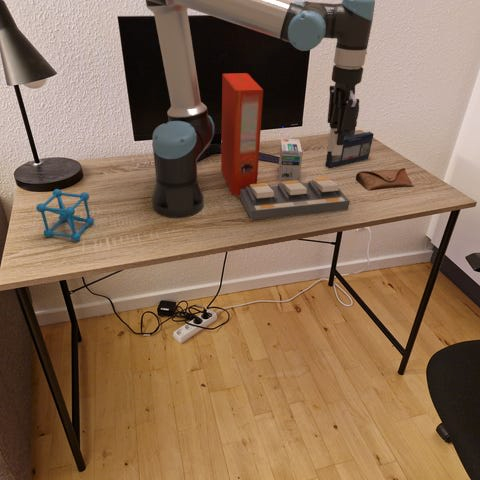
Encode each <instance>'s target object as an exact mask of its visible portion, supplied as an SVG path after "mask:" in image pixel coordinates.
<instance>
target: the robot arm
mask: <svg viewBox="0 0 480 480" xmlns="http://www.w3.org/2000/svg"><path fill="white" fill-rule="evenodd" d="M145 4H146V8H147V9H148V10H149V11H150V12H152V14H153V15H154V20H155V25H156V31H157V35H158V42H159V46H160V52H161V56H162V57H161V58H162V63H163V68H164V74H165V80H166V85H167V90H168V96H169V100H170V107H169V108H168V110H167V113H166V114H167V119H168V121H166V123H162V124H160V125H158V126H156V127H155V129H154V130H153V132H152V144H151V146H152V150H153V151H152V153H153V160H154V169H155V170H154V171H155V180H156V182H155V185H154V191H153V194H152V196H151V197H152V198H151V205H152V208H153V211H154V212H155V213H157V214H158V215H161V216H163V217H166V218H173V219H175V218H176V219H177V218H179V219H181V218H186V217H190V216H193V215H196V214H197V213H199V212H201V210H203V208H204V205H205V203H204V202H205V201H204V200H205V198H204V194H203V191H202V189H201V186H200V184H199V181H198V159H199V158H200V157H201V155H202V154H203V153H204V152H205V150H206V149H207V148H208V147H209V146H210V145H211V143H212V141H213V138H214V135H215V123H214V121H213V118H212V117H211V116H210V115H209V113H208V107H207V106H206V104H204V102H202V101H201V95H200V94H201V93H200V88H199V81H198V73H197V69H196V68H197V67H196V61H195V60H196V59H195V56H194V55H195V53H194V48H193V40H192V34H191V29H190V28H191V27H190V21H189V14H188V9H190V10H193V11H196V12H199V13H202V14H205V15H208V16H212V17H214V18H217V19H220V20H223V21H226V22H229V23H232V24H235V25H238V26H241V27H244V28H247V29H250V30H253V31H255V32H258V33H262V34H265V35H266V36H267V35H268V36H270V37H272V38H273V37H274V38H276V39H280V40H282V41H284V42H288V43H290V44H291V45H292V46H293V47H294V48H295V49H297V50H299V51H301V52H303V51H306V52H307V51H311V50H313V49H315V48H317V46H319V44H320V43H322V40H323V39H331V40H332V39H334V40H335V39H336V46H335V51H334V56H333V63H334V64H333V66H332V73H331V81H332V82H334V85H330V86H329V98H328V99H329V101H328V111H327V123H328V124H329V128H330V129H329V131H330V132H329V136H328V137H329V138H328V143H327V149H326V150H327V151H326V152H329V151H332V153H331V155H332V156H335V155H341V154H342V148H343V142H344V137H345V134H350V131H351V128H352V124H353V120H354V116H355V112H356V108H357V106H358V104H359V105H360V99H359V98H356V97H355V94H356V86H357V85H358V84H361V82H362V78H363V73H364V67H363V66H364V65H365V63H366V62H365V61H366V57H367V55H368V52H367V51H368V50H367V49H368V46H369V40H370V37H371V29H372V25H373V20H374V12H375V5H376V0H342V1H341V3H328V2H327V3H326V2H313V1H307V0H306V1H295V2H290V1H288V0H145Z"/></svg>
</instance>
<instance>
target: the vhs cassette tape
mask: <svg viewBox="0 0 480 480" xmlns="http://www.w3.org/2000/svg"><path fill="white" fill-rule="evenodd" d="M373 140H374V133H373V132H371V131H366V132H361V133H357V134H354V135H351V136H346V137H344V142H343V148H342V154H341V155H335V156H332V155H331V153H332V151H329V152H328V151H326V152H327V154H326V159H325V160H326V161H325V163H324V165H325V167H326V168H327V169H330V168H331V169H333V168H334V167H335V168H338V167H344V166H347V165H351V164H356V163H359V162H362V161H368V160H369V157H370V153H371V149H372V144H373Z"/></svg>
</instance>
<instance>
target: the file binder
mask: <svg viewBox="0 0 480 480" xmlns="http://www.w3.org/2000/svg"><path fill="white" fill-rule="evenodd" d="M221 79H222V81H221V82H222V83H221V84H222V86H221V88H222V89H221V90H222V91H221V93H222V94H221V105H222V106H221V147H220V149H221V150H220V151H221V153H220V155H221V157H220V161H221V163H220V166H221V167H220V171H221V173H222V175H223V177H224V180H225V182H226V184H227V186H228V188H229V191H230V193H231V195H232V196H240V189H246V187H249V188H250V184H258V173H259V172H258V171H259V161H260V158H259V157H260V145H261V144H260V142H261V129H262V114H263V102H264V101H263V99H264V89H263V88H262V87H261V86H260V85H259V84H258V82H256V81H255V80H254V78H252V76H251V75H250V74H249V73H248V72H247V73H246V72H244V73H242V72H241V73H239V72H237V73H233V72H232V73H222V78H221Z"/></svg>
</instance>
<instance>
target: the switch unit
mask: <svg viewBox="0 0 480 480" xmlns="http://www.w3.org/2000/svg"><path fill="white" fill-rule="evenodd" d="M329 179H330V180H332V178H329ZM299 182H300V183H301V184H302V185H303V186H305V187H306V188H307V194H297V195H290V194H289V193H287V192H286V191H285V190H284V189H283V187H282V186H281V184H282V183H277V185H271V184H267V185H268V186H269V187H270V188H271V189H272V190H273V191H274V197H267V198H256V197H255V195H254V194H253V193H252V192H251V190H250V188H249V187H246V189H240V195H239V199H240V200H241V203H242V204H243V206H244V208H245V211H246V213H247V215H248V217H249V220H250V221H256V220H257V221H258V220H267V219H274V218H275V219H276V218H284V217H294V216H302V215H303V216H304V215H311V214H312V215H313V214H319V213H320V214H321V213H322V214H323V213H330V212H331V213H332V212H338V211H339V212H341V211H347V210H349V207H350V201H351V200H349V198H348V197H347V196H346V195H345V194H344V193H343V191H342V190H341V189H340V188H339V187H338V191H328V192H322V191H321V190H319V189H318V188H317V187H316V186H315V185H314V184H313V183H312V180H308V181H307V182H305V183H302V182H301V181H299Z"/></svg>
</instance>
